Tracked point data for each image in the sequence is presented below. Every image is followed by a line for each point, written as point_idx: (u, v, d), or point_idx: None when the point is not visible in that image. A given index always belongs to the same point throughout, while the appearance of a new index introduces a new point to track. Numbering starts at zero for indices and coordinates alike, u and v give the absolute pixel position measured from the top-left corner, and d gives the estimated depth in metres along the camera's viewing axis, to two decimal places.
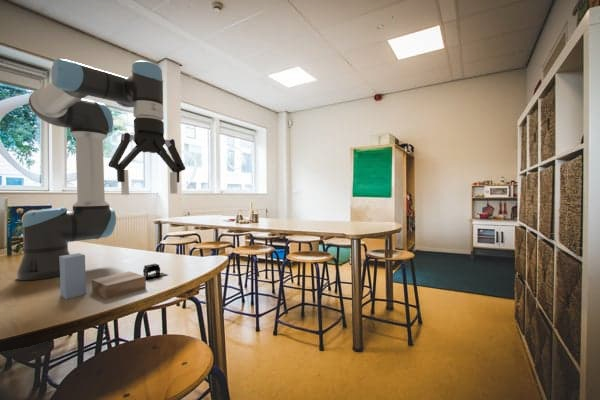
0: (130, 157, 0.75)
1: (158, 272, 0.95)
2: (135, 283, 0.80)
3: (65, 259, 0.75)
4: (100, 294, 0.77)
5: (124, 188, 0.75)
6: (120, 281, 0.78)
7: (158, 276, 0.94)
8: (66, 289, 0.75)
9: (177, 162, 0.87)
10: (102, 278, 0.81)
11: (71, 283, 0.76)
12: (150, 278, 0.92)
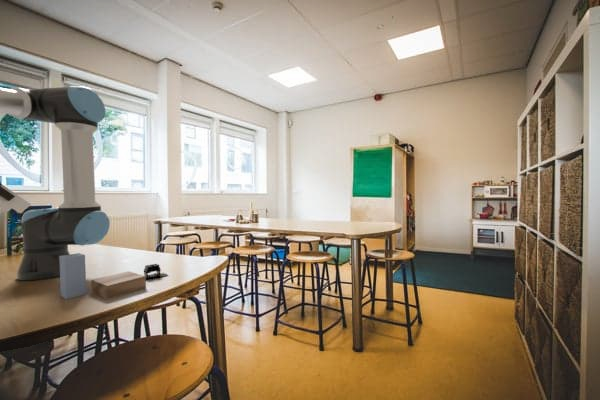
0: None
1: (158, 272, 0.95)
2: (136, 282, 0.80)
3: (65, 259, 0.75)
4: (100, 294, 0.77)
5: None
6: (120, 281, 0.78)
7: (158, 276, 0.93)
8: (66, 289, 0.75)
9: None
10: (102, 278, 0.81)
11: (71, 283, 0.76)
12: (149, 278, 0.92)
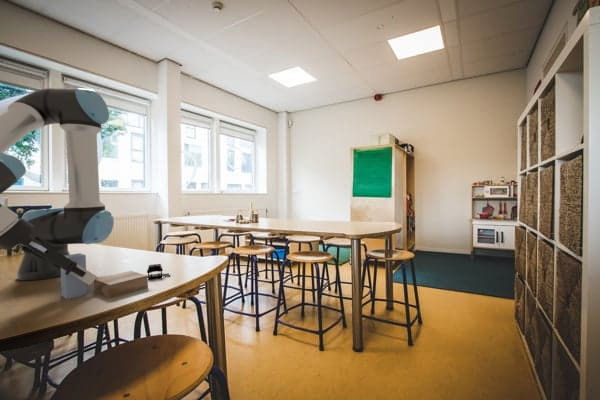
0: (48, 261, 0.76)
1: (161, 273, 0.94)
2: (138, 282, 0.81)
3: None
4: (103, 293, 0.77)
5: None
6: (123, 280, 0.79)
7: (159, 277, 0.93)
8: (67, 289, 0.75)
9: None
10: (104, 277, 0.81)
11: (71, 283, 0.76)
12: (150, 278, 0.92)
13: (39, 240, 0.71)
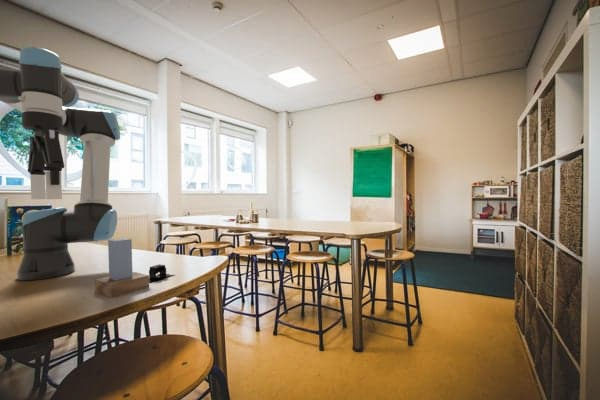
0: (31, 161, 0.73)
1: (164, 273, 0.94)
2: (139, 281, 0.81)
3: (114, 242, 0.79)
4: (104, 293, 0.77)
5: None
6: (124, 280, 0.79)
7: (165, 276, 0.93)
8: (115, 271, 0.79)
9: None
10: (105, 278, 0.81)
11: (119, 265, 0.80)
12: (158, 279, 0.91)
13: None
